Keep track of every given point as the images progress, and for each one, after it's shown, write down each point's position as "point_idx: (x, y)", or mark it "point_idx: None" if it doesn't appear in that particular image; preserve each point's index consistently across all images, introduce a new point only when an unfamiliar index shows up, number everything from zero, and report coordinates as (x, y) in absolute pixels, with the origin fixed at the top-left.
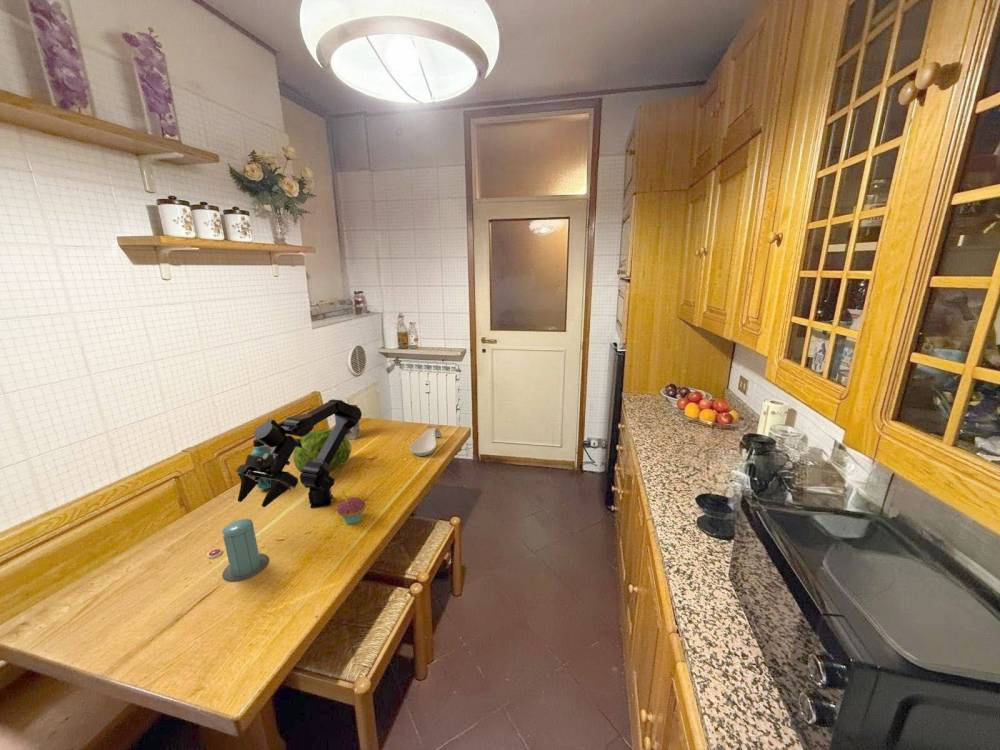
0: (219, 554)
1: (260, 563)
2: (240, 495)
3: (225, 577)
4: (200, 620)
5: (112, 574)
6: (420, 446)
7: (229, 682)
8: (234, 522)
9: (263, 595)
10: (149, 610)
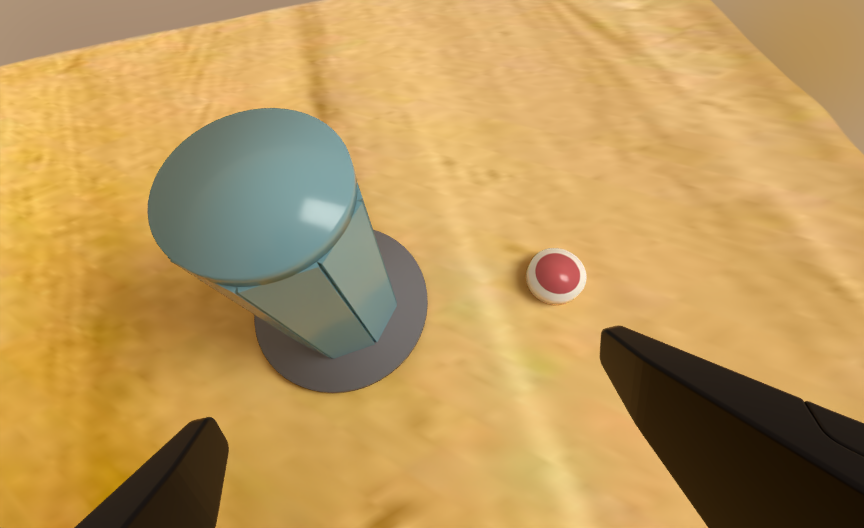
0: (528, 282)
1: (295, 340)
2: (649, 358)
3: None
4: None
5: (719, 79)
6: None
7: (13, 97)
8: (332, 195)
9: (146, 262)
10: (431, 85)
